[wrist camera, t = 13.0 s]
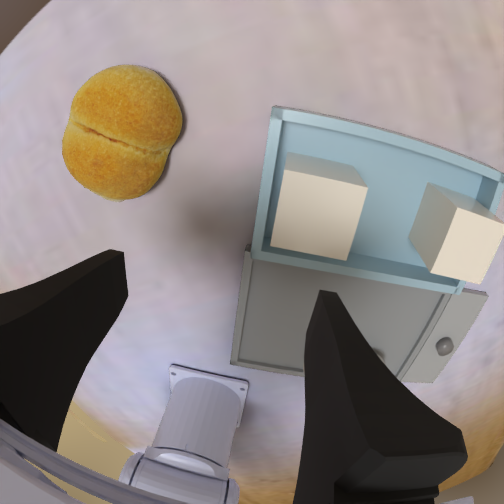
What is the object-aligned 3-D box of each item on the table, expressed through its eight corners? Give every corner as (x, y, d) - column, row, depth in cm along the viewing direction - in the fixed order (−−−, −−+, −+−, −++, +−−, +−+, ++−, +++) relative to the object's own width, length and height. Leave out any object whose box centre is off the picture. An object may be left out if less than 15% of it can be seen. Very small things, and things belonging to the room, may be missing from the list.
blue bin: (447, 275, 21) (459, 295, 19) (255, 239, 22) (249, 257, 19) (488, 165, 16) (507, 175, 14) (275, 105, 17) (272, 107, 15)
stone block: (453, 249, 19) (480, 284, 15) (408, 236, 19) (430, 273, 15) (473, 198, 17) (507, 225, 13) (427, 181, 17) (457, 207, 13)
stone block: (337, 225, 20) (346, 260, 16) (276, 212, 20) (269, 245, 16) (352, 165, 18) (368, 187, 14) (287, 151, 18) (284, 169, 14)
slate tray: (430, 380, 26) (433, 390, 25) (231, 357, 28) (228, 368, 26) (487, 289, 21) (494, 299, 20) (246, 244, 22) (243, 254, 21)
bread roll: (204, 90, 17) (182, 90, 14) (152, 206, 22) (127, 230, 18) (103, 49, 16) (67, 47, 13) (67, 160, 21) (33, 175, 17)
